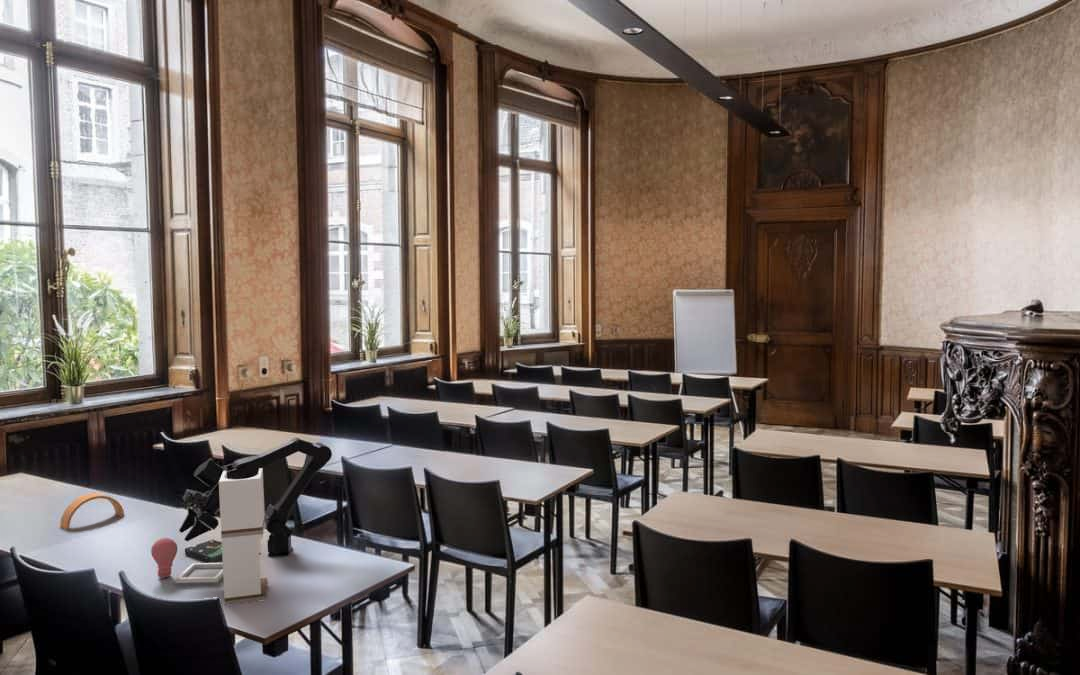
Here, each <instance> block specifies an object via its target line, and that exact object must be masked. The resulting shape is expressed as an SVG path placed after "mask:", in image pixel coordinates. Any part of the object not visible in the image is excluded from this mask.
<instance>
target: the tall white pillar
mask: <svg viewBox="0 0 1080 675" xmlns="http://www.w3.org/2000/svg"><path fill="white" fill-rule="evenodd" d="M263 469H264V468H259V472H258V473H257V474H256V475H254V476H253V477H251V478H246V479H237V478H234V479H229V478H228V476H227V471H223V473H222V475H221V478H220V480H219V497H220V509H219V512H220V513H219V514H220V515H219V516H220V517H219V518H220V535H221V542H222V558H223V560H222V563H223V595H224V596H223V599H224V606H228V605H227V604H233V605H239V604H238V603H241V604H246V603H245V602H249V603H254V602H253V601H257V602H260V601H259V600H265V599H267V593H266V592H267V591H268V585H267V584H269V583H268V582H269V581H268V577H263V578H261V565H260V564H261V563H260V562H261V561H260V560H261V559H260V556H261V555H262V540H263V539H264V534H265V530H266V529H265V494H264V493H265V490H264V472H263ZM227 478H228V479H227ZM265 601H266V600H265Z"/></svg>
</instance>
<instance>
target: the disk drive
mask: <svg viewBox="0 0 1080 675" xmlns="http://www.w3.org/2000/svg"><path fill="white" fill-rule="evenodd" d="M184 554H185V556H187V557H190V558H193V559H195V558H196V560H198V559H199V561H201V560H202V561H201V562H204V561H205V562H204V563H206V562H208V563H215V562H216V563H219V562H221V561H220V560H222V561H223V558H222V541H218V540H216V539H211V540H208V541H204V542H201V543H198V544H196V545H195V546H188V547H185V548H184ZM218 561H219V562H218Z"/></svg>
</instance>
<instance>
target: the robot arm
mask: <svg viewBox="0 0 1080 675" xmlns="http://www.w3.org/2000/svg"><path fill="white" fill-rule="evenodd" d="M298 452H299V453H302V454H305V459H304V463H303V466H301V468H300V470H299V472H298V473H297V474H296V476H295V477H294V479H293V480H292V482H291V483H290V484H289V485H288V488H287V489H286V491H285V492H284V493H283V495H282V496H281V498H280V500H279V501H278V502H276V503H275V504H274V505H272V504H268V506H267V508H266V509H265V510H264V512H265V529H264V530H266V531H267V532H268V533H270V534H269V535H268V539H267V543H266V544H267V553H268V554H267V557H287V556H289V555H290V554H291V553H292V552H293V550H294V547H293V546H292V533H293V529H292V528H290V526H288V524H287V522H288V520H289V515H290V512H291V510H292V508H293V507H294V505H295V504H296V502H297V501H298V499H299V498H300V496H301V495H302V493H303V492H304V490H305V488H306V487H307V486H308V485H309V483H310V482H311V480H312V478H313V477H314V475H315V474H316V473H317V472H318V471H319V470H321V469H322V468H324V467H325V465H327V463H329V461H330V460H331V459H332V456H333V454H332V453H333V452H332V450H331V448H330V447H329V446H327V445H325V444H323V443H322V442H315V443H313V442H310V441H307V440H304V439H301V438H299V437H293V438H291V439H290V440H288V441H285V442H284V443H281V444H280V445H276V446H275V447H273V448H270V449H268V450H266V451H264V452H261V453H260V454H256V455H251V456H247V457H242V458H238V459H236V460H234V461H233V462H232V463H229V464H226V465H223V466H220V465H219V464H217V463H216V461H214V459H212V458H211V457H210V458H208V459H207V460H206V461H204V462H203V463H202V464H200V465H198V467H197V468H196V469H195V471H194V472H193V476H194V477H195V478H197V479H198V480H199V481H201V482H202V483H203V484H205V485H206V486H208V487H211V486H212V488H211V490H206V491H205V492H200V491H197V490H193V489H189V488H186V490H185V492H184V494H183V496H182V500H183V501H184V503H187V506H186V509H187V515H186V516H185V518H184V520H183V522H182V523H181V525H180V528H179V529H178V531H179V532H180V533H182V534H183V533H184V532H186V531H187V530H189V529H190V528H191V529H190V530H189V531H188V532H187V534H186V536H185V537H184V541H185V542H189V541H191V540H193V539H195V538H197V537H199V536H201V535H203V534H206V533H208V532H212V530H216V529H217V527H218V526H219V520H218V518H217V516H218V515H217V512H218V511H220V497H219V480H220V478H221V475H222V473H223V471H227V479H246V478H251V477H254V476H256V475H258V472H259V468H263V469H264V468H265V467H268V466H270V465H273V464H274V463H276V462H279V461H280V460H282V459H285V458H287V457H289V456H292V455H294V454H295V453H298Z"/></svg>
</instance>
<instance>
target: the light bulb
mask: <svg viewBox="0 0 1080 675" xmlns="http://www.w3.org/2000/svg"><path fill="white" fill-rule="evenodd" d="M150 551H151V552H150V553H151V554H150V555H151V557H152V558H153V560H154V561H155V563H156V564H157V568H158V569H157V577H158V578H163V579H164V578H167V577H170V576H171V575H172V567H173V563H174V560H175V558H176V555H177V553H178V544H177V542H176V541H175V540H174V539H172V538H170V537H162V538H160V539H158V540H156V541H155V542H154V543H153V545H152V546H151V550H150Z"/></svg>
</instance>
